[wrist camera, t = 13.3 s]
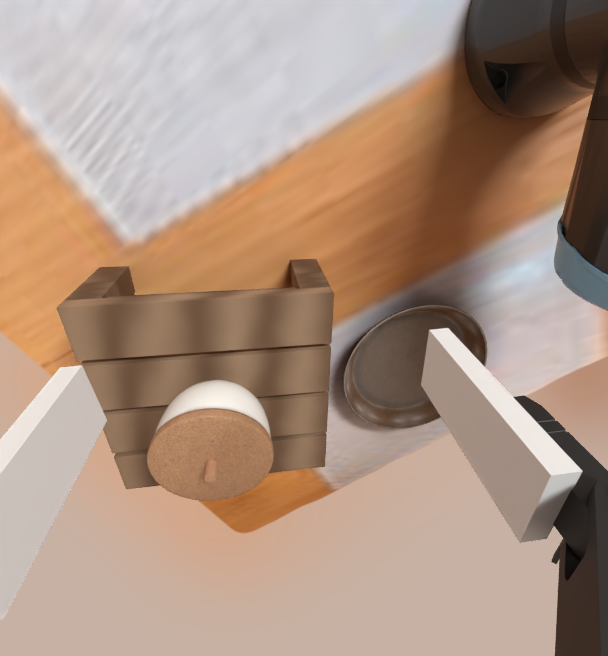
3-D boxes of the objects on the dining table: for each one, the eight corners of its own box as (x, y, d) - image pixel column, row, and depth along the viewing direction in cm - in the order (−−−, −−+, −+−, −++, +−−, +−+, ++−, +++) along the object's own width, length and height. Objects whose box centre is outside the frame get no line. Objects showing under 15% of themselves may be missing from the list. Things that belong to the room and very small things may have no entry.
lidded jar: (281, 371, 36) (290, 441, 28) (255, 444, 41) (256, 521, 33) (173, 351, 33) (149, 422, 25) (158, 432, 38) (134, 514, 30)
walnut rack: (315, 258, 41) (333, 293, 32) (312, 411, 53) (324, 466, 44) (99, 267, 38) (56, 307, 30) (147, 427, 50) (126, 489, 41)
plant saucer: (419, 264, 44) (431, 274, 41) (500, 349, 52) (515, 361, 50) (308, 372, 50) (312, 387, 47) (398, 432, 58) (406, 447, 55)
